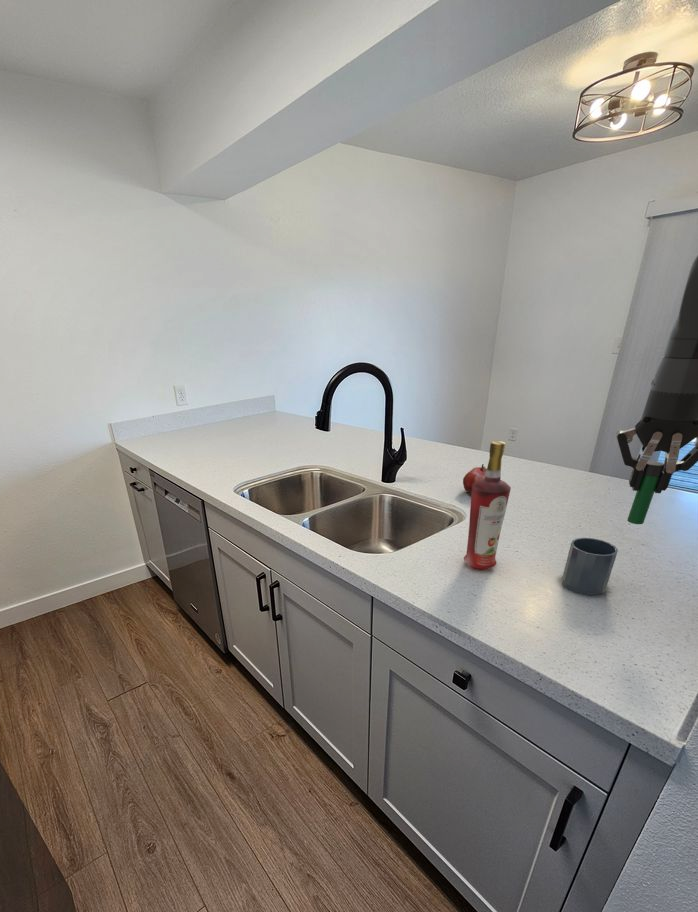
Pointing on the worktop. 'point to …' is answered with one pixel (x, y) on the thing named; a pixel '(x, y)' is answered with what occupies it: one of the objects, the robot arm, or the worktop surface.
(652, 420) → the robot arm
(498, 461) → the liquor
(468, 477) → the fruit
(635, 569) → the worktop surface
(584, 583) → the grey cylindrical cup
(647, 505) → the green marker
